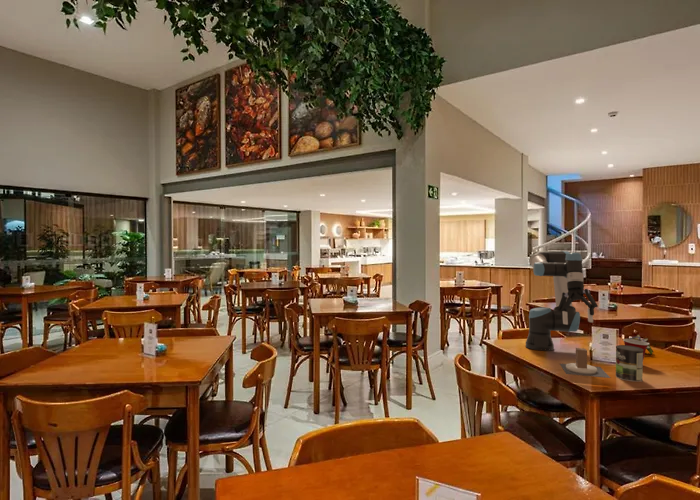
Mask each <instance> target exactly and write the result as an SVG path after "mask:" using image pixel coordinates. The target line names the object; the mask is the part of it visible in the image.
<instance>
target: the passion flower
mask: <svg viewBox="0 0 700 500" xmlns="http://www.w3.org/2000/svg"><path fill="white" fill-rule="evenodd" d="M627 339H632V340H638V341H643V342H646V343H648V344H649V345H648V346H647V348H646V350H647V352H648V353H649V354H650V355H653V353H654V350H653V349H652V347H651V345H650V342H647V341H648V339H649V338H641V336H640V335H639V334H637V335H636V336H632V337H631V336H630V337H628V338H627Z"/></svg>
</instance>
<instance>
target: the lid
mask: <svg viewBox="0 0 700 500" xmlns="http://www.w3.org/2000/svg"><path fill="white" fill-rule="evenodd" d="M565 364H566V369H567V370H569V371H571V372H575V373H580V374H596V373H597V368H596V367H597V366H595V367H594V365H590V364H588V350H587V348H584V347H583V348H581V347H575V362H571V363H565Z"/></svg>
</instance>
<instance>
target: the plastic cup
mask: <svg viewBox="0 0 700 500" xmlns="http://www.w3.org/2000/svg"><path fill="white" fill-rule="evenodd" d="M622 341H623V345H628V346H635V347H639V348H642V349H643V360H645V355H646V354H645V353H646V350H647V349H646V348H647V346H648V345H650V344H648V343H649V342H648V343H647V341H646V342H643V341H638V340H632V339H630V338H629V339H628V338H623V339H622Z"/></svg>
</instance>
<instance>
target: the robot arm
mask: <svg viewBox="0 0 700 500" xmlns="http://www.w3.org/2000/svg"><path fill="white" fill-rule="evenodd" d="M528 262H529V265H530V266H531V267H532V268H533V269H532V270H533V275H534V276H536V277H537V276H539V277H553V286H554V287H553V288H554V289H553V290H554V298H555V306H554V308H553V310H552V308H551V307H534V308H531V309H530V310H529V314H528V336H527V338H526V340H525V347H526V348H527V349H531V350H536V351H548V352H549V351H554V349H555V348H554V347H555V346H554V342H553V338H552V336H551V333H552V332H554V331H555V332H568V333H573V332H574V333H576V332H578V330H579V328H580V321H581V313H580V311H577V309H576V307H575V306H573V302H575V301H582V302H583V303H584V304H585V305H586V306H587V311H586V312H587V322H588V323H594V317H593V316H595V308H597V307H598V304H597V302H596V300H595V299H594V297H593V295H592V294H591V290H590V289H588V288H585V285H584V271H583V258H582V254H581V253H580V252H569V251H567V250H559V251H558V250H541V251H537V252H534V253H533V254H532V255H531V256H530V257H529V261H528ZM584 295H585V296H584ZM586 297H587V298H586ZM551 331H552V332H551Z"/></svg>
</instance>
